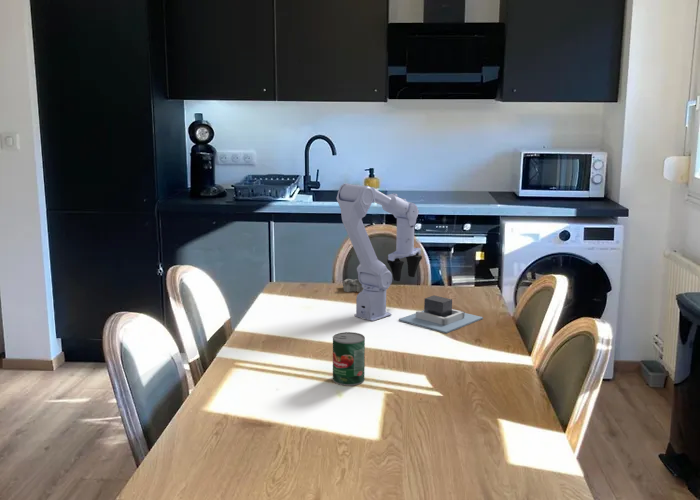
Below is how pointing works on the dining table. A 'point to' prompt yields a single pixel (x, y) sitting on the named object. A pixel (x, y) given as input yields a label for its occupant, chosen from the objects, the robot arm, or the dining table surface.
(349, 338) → the canned tomato
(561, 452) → the dining table surface
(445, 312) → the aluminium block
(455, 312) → the coupler cradle
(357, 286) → the egg carton
